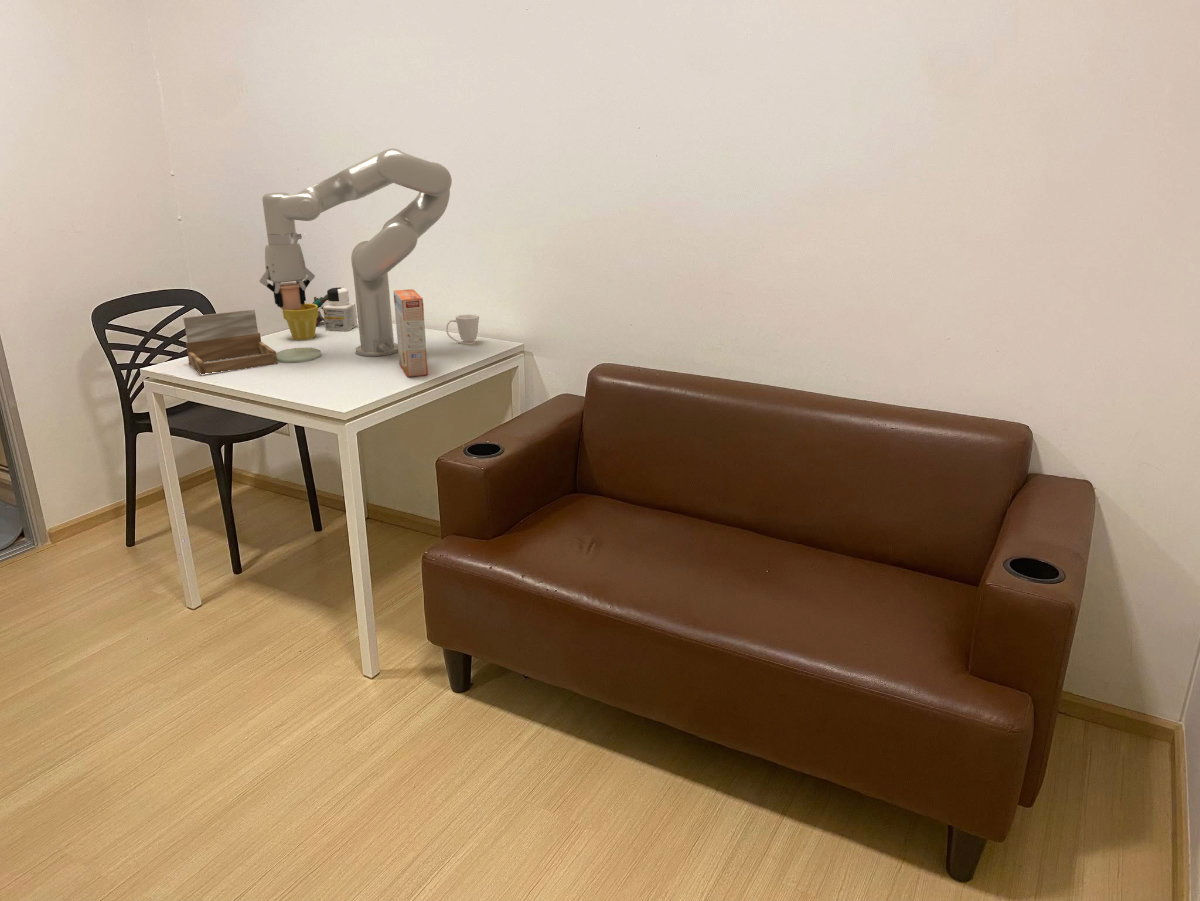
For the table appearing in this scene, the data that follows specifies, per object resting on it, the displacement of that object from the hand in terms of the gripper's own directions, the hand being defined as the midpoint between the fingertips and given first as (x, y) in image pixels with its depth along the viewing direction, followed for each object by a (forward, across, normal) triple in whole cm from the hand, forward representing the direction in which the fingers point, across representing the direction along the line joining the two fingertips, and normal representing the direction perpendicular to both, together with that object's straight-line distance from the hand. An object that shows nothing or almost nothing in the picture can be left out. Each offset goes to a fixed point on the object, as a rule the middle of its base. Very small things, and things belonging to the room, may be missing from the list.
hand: (291, 304), depth 249 cm
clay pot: (+1, 0, 0) cm, 1 cm away
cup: (+15, -46, +14) cm, 50 cm away
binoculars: (+15, -19, -37) cm, 44 cm away
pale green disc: (+15, 0, 0) cm, 15 cm away
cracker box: (+15, -21, +33) cm, 42 cm away
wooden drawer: (+15, +17, -4) cm, 23 cm away
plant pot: (+15, -9, -22) cm, 28 cm away
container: (+15, -23, -27) cm, 39 cm away
